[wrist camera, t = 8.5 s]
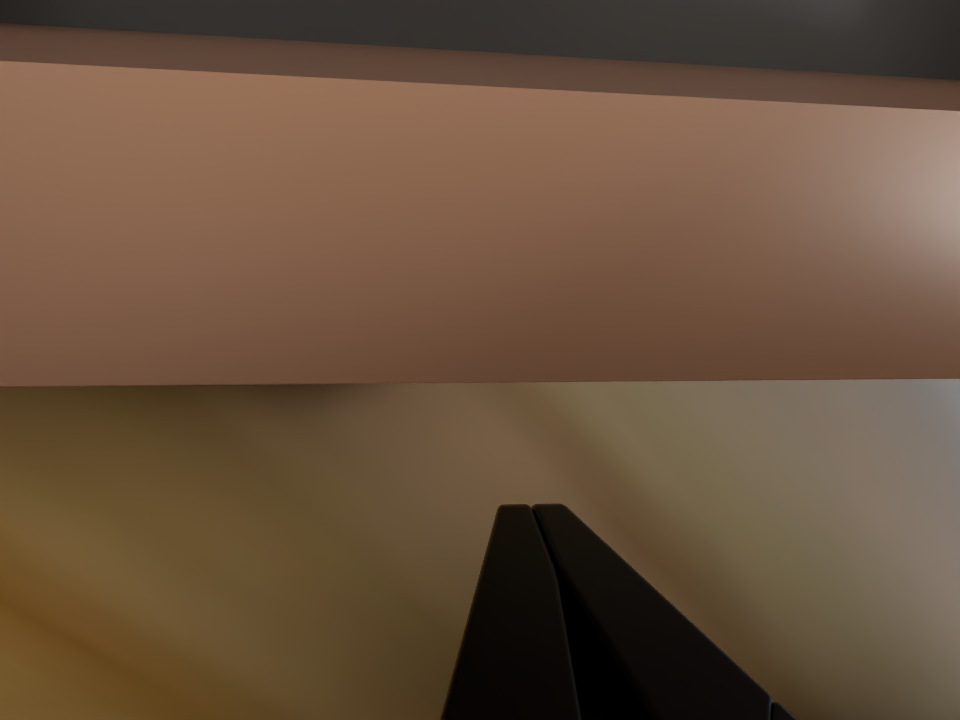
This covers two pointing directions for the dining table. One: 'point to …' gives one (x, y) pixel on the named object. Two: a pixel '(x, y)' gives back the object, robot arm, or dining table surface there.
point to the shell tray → (478, 191)
